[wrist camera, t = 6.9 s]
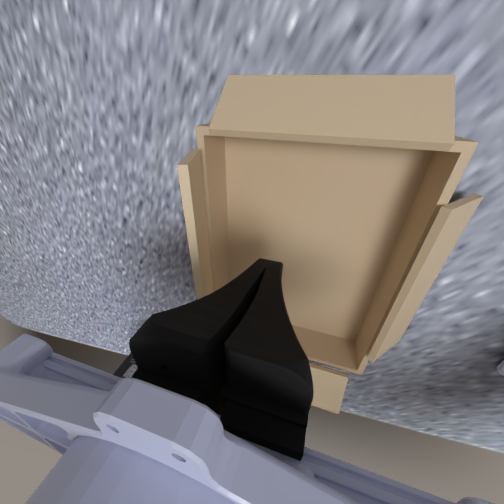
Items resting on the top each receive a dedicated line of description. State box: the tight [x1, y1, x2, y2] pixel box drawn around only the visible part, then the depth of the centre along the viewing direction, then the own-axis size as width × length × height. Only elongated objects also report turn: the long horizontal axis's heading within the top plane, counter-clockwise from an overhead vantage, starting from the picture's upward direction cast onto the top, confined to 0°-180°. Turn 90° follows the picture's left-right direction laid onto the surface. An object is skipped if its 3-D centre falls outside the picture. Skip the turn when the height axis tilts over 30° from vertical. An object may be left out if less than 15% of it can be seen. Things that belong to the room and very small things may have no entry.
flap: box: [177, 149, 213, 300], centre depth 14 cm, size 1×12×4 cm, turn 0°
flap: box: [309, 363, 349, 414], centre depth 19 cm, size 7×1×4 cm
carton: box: [196, 75, 483, 375], centre depth 15 cm, size 14×18×4 cm
